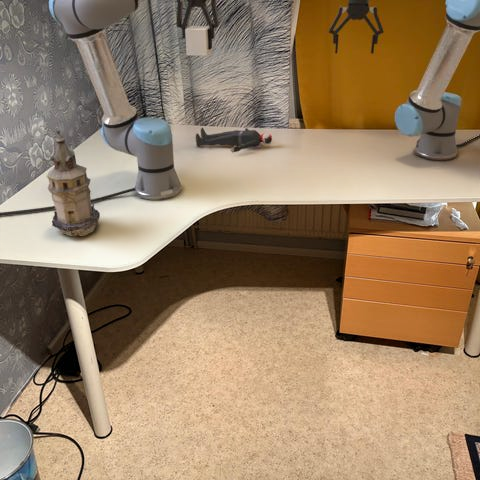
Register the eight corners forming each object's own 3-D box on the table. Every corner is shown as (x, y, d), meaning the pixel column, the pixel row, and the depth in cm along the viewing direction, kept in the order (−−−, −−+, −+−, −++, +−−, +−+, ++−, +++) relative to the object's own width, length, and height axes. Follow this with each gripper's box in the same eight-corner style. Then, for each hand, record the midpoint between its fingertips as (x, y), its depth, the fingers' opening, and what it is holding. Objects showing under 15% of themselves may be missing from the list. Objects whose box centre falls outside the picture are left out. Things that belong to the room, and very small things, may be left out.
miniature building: (80, 214, 164) (63, 117, 149) (111, 225, 157) (96, 125, 142) (44, 231, 154) (22, 130, 140) (75, 244, 147) (55, 139, 133)
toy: (206, 121, 227) (276, 121, 221) (207, 135, 230) (276, 136, 224) (189, 141, 205) (266, 142, 199) (190, 156, 208) (267, 158, 202)
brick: (212, 51, 193) (211, 26, 189) (207, 55, 187) (206, 29, 183) (192, 51, 195) (190, 26, 190) (186, 55, 188) (185, 29, 184)
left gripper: (227, -25, 180) (229, 47, 191) (169, -24, 183) (174, 46, 195) (223, -23, 174) (225, 50, 185) (162, -23, 177) (168, 49, 188)
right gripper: (393, -9, 198) (386, 51, 208) (324, -9, 201) (321, 50, 211) (395, -7, 191) (388, 55, 202) (324, -7, 195) (321, 54, 205)
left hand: (199, 48), depth 190 cm, fingers closed on brick, 7 cm apart
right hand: (354, 52), depth 207 cm, fingers open, 13 cm apart
